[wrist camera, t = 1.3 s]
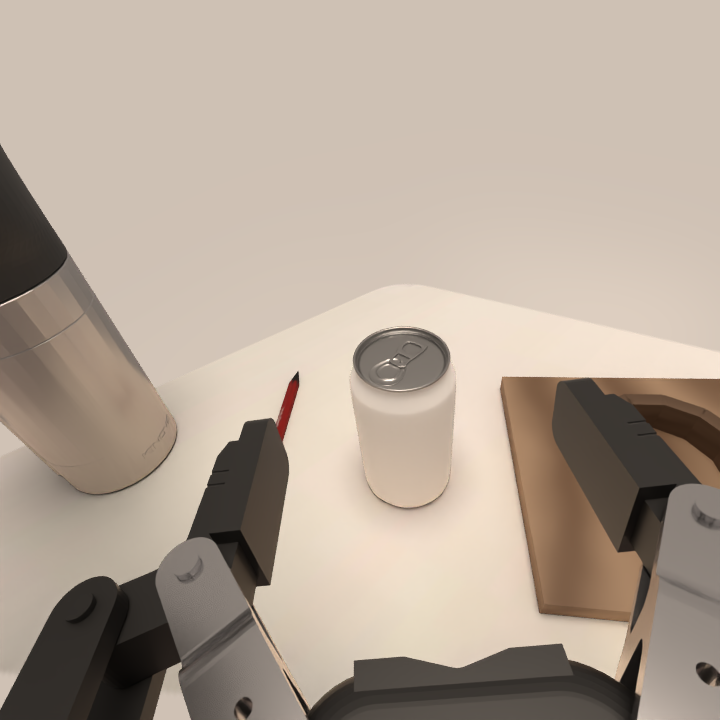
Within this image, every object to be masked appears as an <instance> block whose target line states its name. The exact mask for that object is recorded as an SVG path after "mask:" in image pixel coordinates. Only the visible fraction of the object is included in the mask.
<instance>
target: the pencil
mask: <svg viewBox="0 0 720 720" xmlns="http://www.w3.org/2000/svg"><path fill="white" fill-rule="evenodd" d="M298 387H299V373H298V372H297V373H296V375H295V376H294V377H293V379H292V380H291V381H290V383H289V385H288V388H287V391H286V395H285V398H284V401H283V404H282V407H281V410H280V413H279V416H278V420H277V423H276V426H277V429H278V432H279V434H280V437H281V440H282V442H283V438H284V435H285V432H286V428H287V425H288V421H289V418H290V415H291V411H292V408H293V404H294V401H295V398H296V394H297V391H298Z"/></svg>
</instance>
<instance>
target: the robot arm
mask: <svg viewBox="0 0 720 720" xmlns="http://www.w3.org/2000/svg"><path fill="white" fill-rule="evenodd" d="M0 422H2V423H3V424H4V425H5V426H6V427H7V428H8V429H9V430H10V431H11V432H12V433H14V435H16V436H17V437H18V438H19V439H20V440H21V441H22V442H23V443H24V444H25V445H26V446H27V447H28V448H29V449H31V450H32V451H33V452H34V453H35V454H36V455H37V456H38V457H39V458H40V459H41V460H42V461H43V462H45V463H46V464H47V465H48V466H49V467H50V468H51V469H52V470H53V471H54V472H55V473H56V474H57V475H62V476H63V477H64V478H65V479H66V480H67V481H68V482H69V483H70V484H72V485H73V486H74V487H75V488H76V489H78V490H79V491H82V492H85V493H89V494H103V493H110V492H113V491H117V490H120V489H123V488H125V487H127V486H129V485H132V484H134V483H136V482H137V481H139V480H140V479H142V478H144V477H145V476H147V475H148V474H149V473H150V472H151V471H153V470H154V469H155V468H156V467H157V466H158V465H159V464H160V463H161V462H162V461H163V460H164V459H165V457H166V456H167V454H168V453H169V451H170V450H171V448H172V446H173V444H174V441H175V438H176V432H177V429H176V423H175V421H174V419H173V417H172V415H171V414H170V412H169V410H168V409H167V407H166V406H165V404H164V403H163V401H162V399H161V398H160V396H159V395H158V393H157V391H156V390H155V388H154V387H153V385H152V383H151V382H150V380H149V378H148V377H147V375H146V374H145V372H144V371H143V369H142V367H141V366H140V364H139V363H138V361H137V360H136V358H135V356H134V355H133V353H132V352H131V350H130V349H129V347H128V345H127V344H126V342H125V341H124V339H123V338H122V336H121V335H120V333H119V331H118V330H117V328H116V327H115V325H114V323H113V322H112V320H111V319H110V317H109V315H108V314H107V312H106V311H105V309H104V308H103V306H102V304H101V303H100V301H99V300H98V298H97V297H96V295H95V293H94V292H93V291H92V289H91V288H90V286H89V284H88V283H87V281H86V280H85V278H84V276H83V275H82V273H81V272H80V270H79V268H78V267H77V265H76V264H75V262H74V261H73V259H72V257H71V256H70V254H69V253H68V251H67V250H66V248H65V246H64V245H63V243H62V241H61V240H60V238H59V237H58V236H57V234H56V232H55V231H54V229H53V228H52V226H51V225H50V223H49V222H48V220H47V219H46V217H45V215H44V214H43V212H42V211H41V209H40V208H39V206H38V205H37V203H36V201H35V200H34V198H33V197H32V195H31V194H30V192H29V191H28V189H27V188H26V186H25V184H24V183H23V181H22V179H21V178H20V176H19V175H18V173H17V171H16V170H15V168H14V167H13V165H12V163H11V162H10V160H9V159H8V157H7V155H6V153H5V152H4V150H3V148H2V147H1V145H0ZM552 431H553V436H554V439H555V442H556V444H557V446H558V448H559V450H560V451H561V453H562V455H563V457H564V459H565V460H566V462H567V464H568V466H569V467H570V469H571V471H572V473H573V475H574V476H575V478H576V480H577V482H578V483H579V485H580V487H581V489H582V491H583V492H584V494H585V496H586V498H587V499H588V501H589V503H590V505H591V507H592V508H593V510H594V512H595V514H596V515H597V517H598V519H599V521H600V523H601V524H602V526H603V528H604V530H605V531H606V533H607V535H608V537H609V538H610V540H611V542H612V544H613V546H614V547H615V549H616V551H617V553H620V552H630V551H636V553H637V554H638V556H639V557H640V559H641V561H642V564H641V567H640V570H639V575H638V580H637V585H636V590H635V595H634V600H633V605H632V610H631V615H630V620H629V625H628V630H627V635H626V639H625V643H624V647H623V651H622V654H621V657H620V660H619V664H618V667H617V671H616V676H615V679H613V678H611V677H610V676H608V675H606V674H605V673H603V672H601V671H598V670H596V669H594V668H592V667H590V666H587V665H584V664H581V663H578V662H575V661H571V660H568V658H567V656H566V653H565V650H564V648H563V645H562V644H552V645H540V646H528V647H515V648H508V649H506V650H503V651H501V652H499V653H496V654H494V655H491V656H489V657H487V658H484V659H482V660H479V661H477V662H475V663H472V664H470V665H467V666H465V667H462V668H452V667H448V666H443V665H439V664H434V663H430V662H425V661H421V660H416V659H412V658H407V657H393V658H381V659H369V660H357V661H354V676H353V677H351V678H349V679H346V680H345V681H343V682H341V683H340V684H338V685H336V686H335V687H334V688H332V689H331V690H330V691H329V692H327V693H326V694H325V695H324V696H323V697H322V698H321V699H320V700H319V701H318V702H317V703H316V704H315V705H314V706H313V707H312V709H311V708H310V706H309V705H308V703H307V701H306V699H305V697H304V696H303V694H302V692H301V690H300V688H299V687H298V685H297V683H296V681H295V680H294V678H293V676H292V675H291V673H290V671H289V669H288V667H287V666H286V664H285V662H284V660H283V658H282V656H281V655H280V653H279V651H278V649H277V647H276V645H275V643H274V642H273V640H272V638H271V636H270V634H269V632H268V630H267V629H266V627H265V625H264V623H263V621H262V619H261V618H260V616H259V614H258V612H257V610H256V608H255V606H254V605H253V599H254V594H255V589H256V587H257V586H267V585H270V584H271V578H272V572H273V566H274V560H275V554H276V548H277V542H278V536H279V530H280V524H281V518H282V512H283V506H284V500H285V494H286V488H287V482H288V476H289V463H288V457H287V453H286V451H285V448H284V445H283V443H282V440H281V437H280V434H279V432H278V429H277V426H276V424H275V422H274V420H273V419H272V418H269V419H261V420H254V421H247V422H245V424H244V426H243V429H242V432H241V435H240V438H239V440H238V441H231V442H229V443H228V444H227V445H226V447H225V448H224V449H223V450H222V451H221V453H220V454H219V455H218V456H217V459H216V462H215V465H214V467H213V470H212V475H210V478H209V481H208V484H207V488H206V489H205V492H204V495H203V497H202V500H201V503H200V505H199V508H198V511H197V514H196V516H195V519H194V522H193V524H192V527H191V530H190V533H189V535H188V538H187V540H186V541H185V542H183V543H181V544H179V545H178V546H176V547H175V548H174V549H173V550H172V551H170V552H169V553H168V555H167V556H166V557H165V558H164V560H163V561H162V562H161V564H160V566H159V568H158V569H157V570H155V571H153V572H150V573H148V574H146V575H143V576H141V577H138V578H136V579H134V580H131V581H129V582H126V583H124V584H122V585H119V586H118V585H117V584H116V583H115V582H114V581H113V580H112V579H111V578H109V577H105V576H98V577H94V578H90V579H88V580H86V581H84V582H82V583H80V584H78V585H77V586H75V587H74V588H73V589H71V590H70V591H69V592H68V593H67V594H66V595H65V596H64V597H63V598H62V599H61V600H60V601H59V602H58V603H57V605H56V606H55V608H54V609H53V611H52V612H51V614H50V616H49V618H48V620H47V622H46V624H45V625H44V627H43V629H42V631H41V633H40V635H39V637H38V639H37V641H36V643H35V645H34V646H33V648H32V650H31V652H30V654H29V656H28V658H27V660H26V662H25V664H24V666H23V668H22V669H21V671H20V673H19V675H18V677H17V679H16V681H15V683H14V685H13V687H12V689H11V690H10V692H9V694H8V696H7V698H6V700H5V702H4V704H3V706H2V708H1V710H0V720H153V717H154V713H155V709H156V706H157V702H158V699H159V695H160V691H161V688H162V684H163V680H164V677H165V673H166V669H167V668H169V667H171V666H173V665H175V664H178V663H180V662H181V663H182V669H181V670H180V671H179V682H180V686H181V690H182V693H183V696H184V699H185V702H186V705H187V708H188V712H189V714H190V718H191V720H720V489H717V488H714V487H711V486H707V485H702V484H701V483H700V482H699V480H698V479H697V478H696V477H695V476H694V475H693V473H692V472H691V471H690V470H689V469H688V468H687V467H686V465H685V464H684V463H683V462H682V461H681V460H680V459H679V457H678V456H677V455H676V454H675V453H674V452H673V451H672V449H671V448H670V447H669V446H668V445H667V444H666V442H665V441H664V440H663V439H662V438H661V437H660V436H659V435H657V432H656V431H655V430H654V429H653V428H652V426H651V425H650V424H649V423H646V419H645V418H644V417H643V416H642V415H641V414H640V413H639V411H638V410H637V409H636V408H635V407H634V406H633V405H632V404H630V403H629V402H627V401H625V400H624V399H622V398H620V397H619V396H617V395H615V394H606V395H605V394H604V393H603V392H602V390H601V389H600V388H599V387H598V385H597V384H596V383H595V382H594V381H593V380H592V379H591V378H581V379H573V380H565V381H560V382H559V383H558V384H557V388H556V396H555V403H554V410H553V418H552Z"/></svg>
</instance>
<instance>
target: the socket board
mask: <svg viewBox="0 0 720 720" xmlns="http://www.w3.org/2000/svg"><path fill="white" fill-rule="evenodd" d="M573 379H581V378H567V377H502V381H501V387H500V390H501V396H502V402H503V407H504V413H505V419H506V424H507V430H508V436H509V441H510V447H511V453H512V459H513V464H514V470H515V476H516V481H517V487H518V493H519V498H520V504H521V510H522V515H523V521H524V527H525V532H526V538H527V544H528V550H529V555H530V561H531V567H532V572H533V578H534V584H535V589H536V595H537V601H538V606H539V612H540V613H545V614H555V615H566V616H576V617H586V618H596V619H606V620H616V621H627V622H629V620H630V615H631V610H632V605H633V600H634V595H635V590H636V585H637V580H638V575H639V570H640V567H641V564H642V561H641V559H640V557H639V556H638V554H637V553H636V551H630V552H620V553H617V551H616V549H615V547H614V546H613V544H612V542H611V540H610V538H609V537H608V535H607V533H606V531H605V530H604V528H603V526H602V524H601V523H600V521H599V519H598V517H597V515H596V514H595V512H594V510H593V508H592V507H591V505H590V503H589V501H588V499H587V498H586V496H585V494H584V492H583V491H582V489H581V487H580V485H579V483H578V482H577V480H576V478H575V476H574V475H573V473H572V471H571V469H570V467H569V466H568V464H567V462H566V460H565V459H564V457H563V455H562V453H561V451H560V450H559V448H558V446H557V444H556V442H555V439H554V436H553V431H552V418H553V410H554V403H555V396H556V388H557V384H558V383H559V382H560V381H565V380H573ZM591 379H592V380H593V381H594V382H595V383H596V384H597V385H598V387H599V388H600V389H601V390H602V392H603V393H604V394H605V395H606V394H615V395H617V396H619V397H620V398H622V399H624V400H625V401H627V402H629V403H630V404H632V405H633V406H634V407H635V408H636V409H637V410H638V411H639V413H640V414H641V415H642V416H643V417H644V418H645V419H646V423H649V424H650V425H651V426H652V428H653V429H654V430H655V431H656V432H657V435H659V436H660V437H661V438H662V439H663V440H664V441H665V442H666V444H667V445H668V446H669V447H670V448H671V449H672V451H673V452H674V453H675V454H676V455H677V456H678V457H679V459H680V460H681V461H682V462H683V463H684V464H685V465H686V467H687V468H688V469H689V470H690V471H691V472H692V473H693V475H694V476H695V477H696V478H697V479H698V480H699V482H700V483H701V484H702V485H707V486H711V487H714V488H717V489H720V379H665V378H591Z"/></svg>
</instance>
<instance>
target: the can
mask: <svg viewBox="0 0 720 720" xmlns="http://www.w3.org/2000/svg"><path fill="white" fill-rule="evenodd" d="M350 390H351V396H352V402H353V408H354V414H355V420H356V426H357V431H358V437H359V443H360V448H361V454H362V459H363V465H364V470H365V475H366V479H367V482H368V484H369V486H370V488H371V490H372V491H373V493H374V494H375V495H376V496H378V497H379V498H380V499H382V500H383V501H385V502H387V503H389V504H392V505H395V506H398V507H405V508H411V507H418V506H422V505H425V504H428V503H430V502H431V501H433V500H435V499H436V498H437V497H438V496H439V495H440V494H441V493H442V492H443V491H444V489H445V487H446V486H447V483H448V480H449V476H450V466H451V454H452V441H453V426H454V412H455V396H456V372H455V369H454V366H453V364H452V362H451V360H450V352H449V349H448V347H447V345H446V344H445V342H444V341H443V340H442V339H441V338H440V337H438V336H437V335H435V334H433V333H432V332H429V331H427V330H424V329H421V328H416V327H406V326H402V327H392V328H387V329H383V330H380V331H378V332H375V333H373V334H371V335H370V336H368V337H367V338H365V339H364V340H363V341H362V342H361V343H360V344H359V345H358V347H357V348H356V350H355V353H354V356H353V367H352V370H351V373H350Z"/></svg>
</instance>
